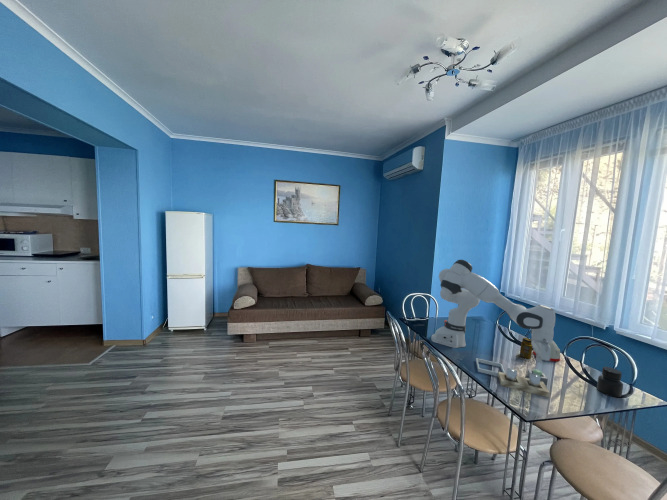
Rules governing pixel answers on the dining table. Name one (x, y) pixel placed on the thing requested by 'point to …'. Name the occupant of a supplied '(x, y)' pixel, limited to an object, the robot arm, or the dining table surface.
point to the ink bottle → (610, 382)
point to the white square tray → (489, 364)
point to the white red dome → (552, 352)
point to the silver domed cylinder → (511, 375)
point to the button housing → (543, 378)
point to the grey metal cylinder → (534, 380)
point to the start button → (537, 372)
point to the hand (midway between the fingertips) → (538, 361)
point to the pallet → (523, 385)
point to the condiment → (525, 349)
